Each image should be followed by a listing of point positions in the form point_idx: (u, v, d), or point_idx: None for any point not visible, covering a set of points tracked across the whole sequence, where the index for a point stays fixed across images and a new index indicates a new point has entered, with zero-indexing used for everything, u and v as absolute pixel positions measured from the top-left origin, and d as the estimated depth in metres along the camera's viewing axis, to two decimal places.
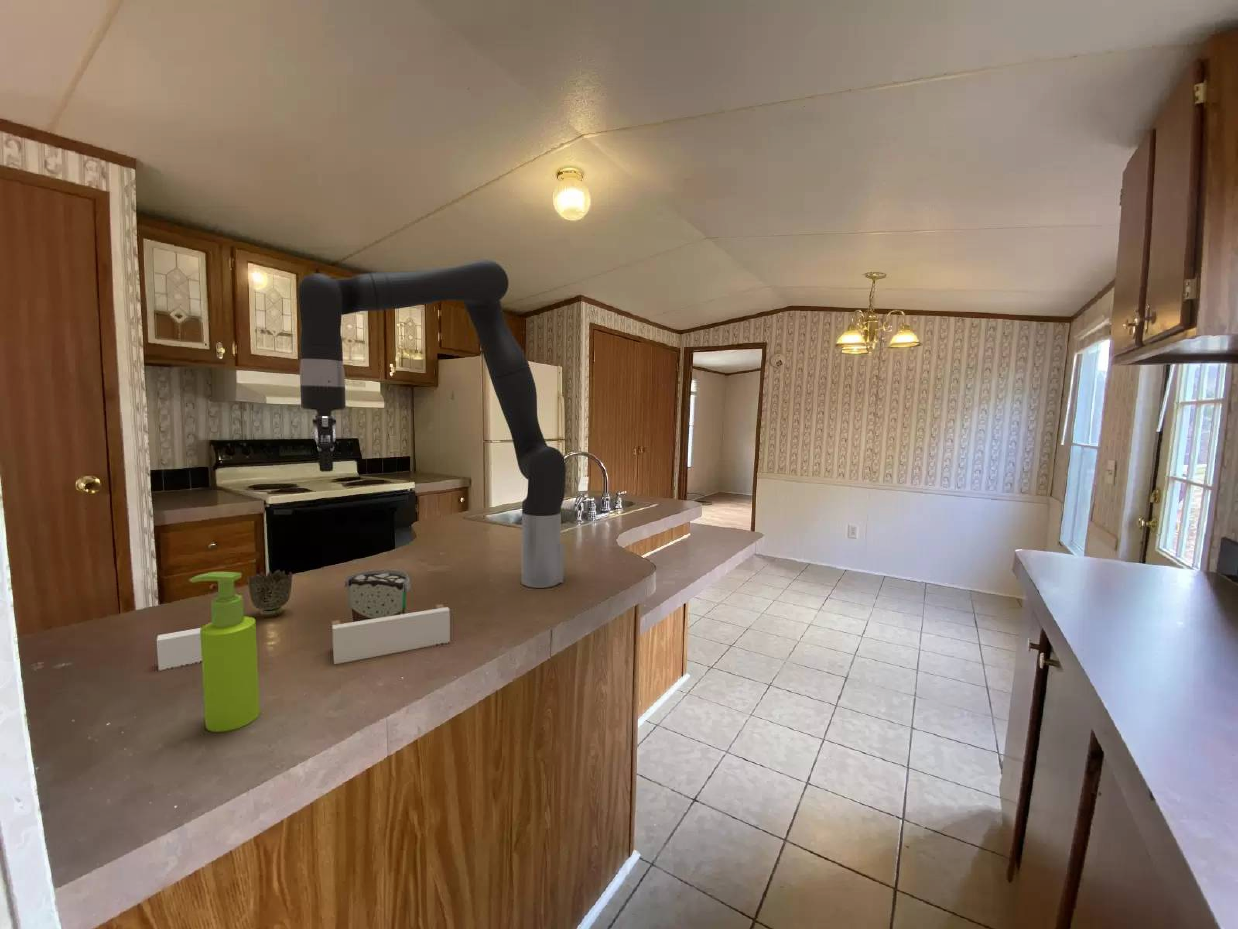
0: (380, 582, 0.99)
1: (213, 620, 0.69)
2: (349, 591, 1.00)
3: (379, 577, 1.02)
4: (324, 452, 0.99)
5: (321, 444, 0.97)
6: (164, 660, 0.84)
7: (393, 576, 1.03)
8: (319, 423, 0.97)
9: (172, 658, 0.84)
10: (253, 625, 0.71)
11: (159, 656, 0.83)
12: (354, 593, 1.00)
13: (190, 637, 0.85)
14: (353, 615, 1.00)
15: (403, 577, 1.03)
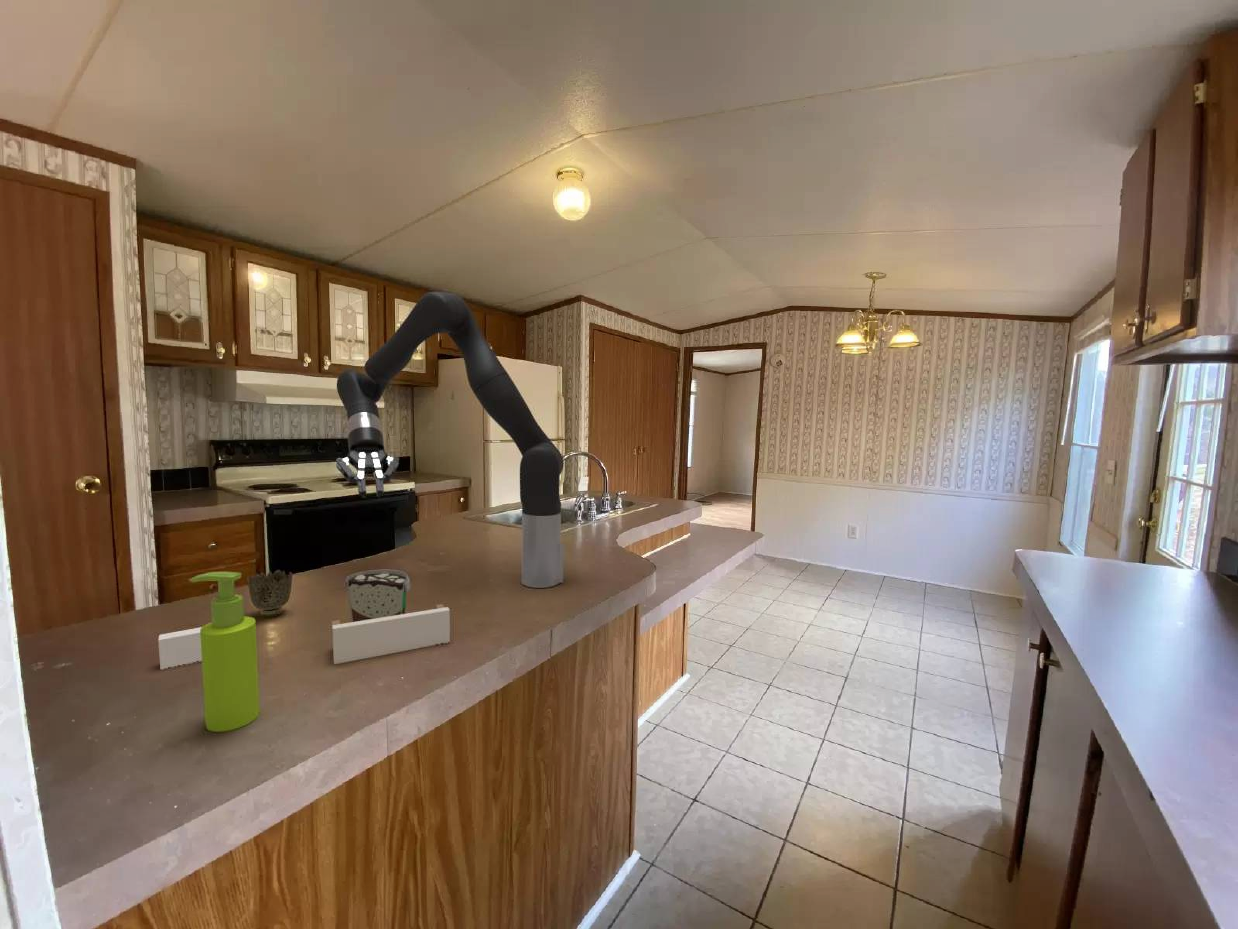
0: (380, 582, 0.99)
1: (213, 620, 0.69)
2: (349, 591, 1.00)
3: (379, 577, 1.02)
4: (357, 483, 1.19)
5: None
6: (166, 659, 0.84)
7: (393, 576, 1.03)
8: (338, 469, 1.20)
9: (174, 657, 0.85)
10: (253, 625, 0.71)
11: (161, 655, 0.84)
12: (354, 593, 1.00)
13: (192, 636, 0.86)
14: (353, 615, 1.00)
15: (403, 577, 1.03)
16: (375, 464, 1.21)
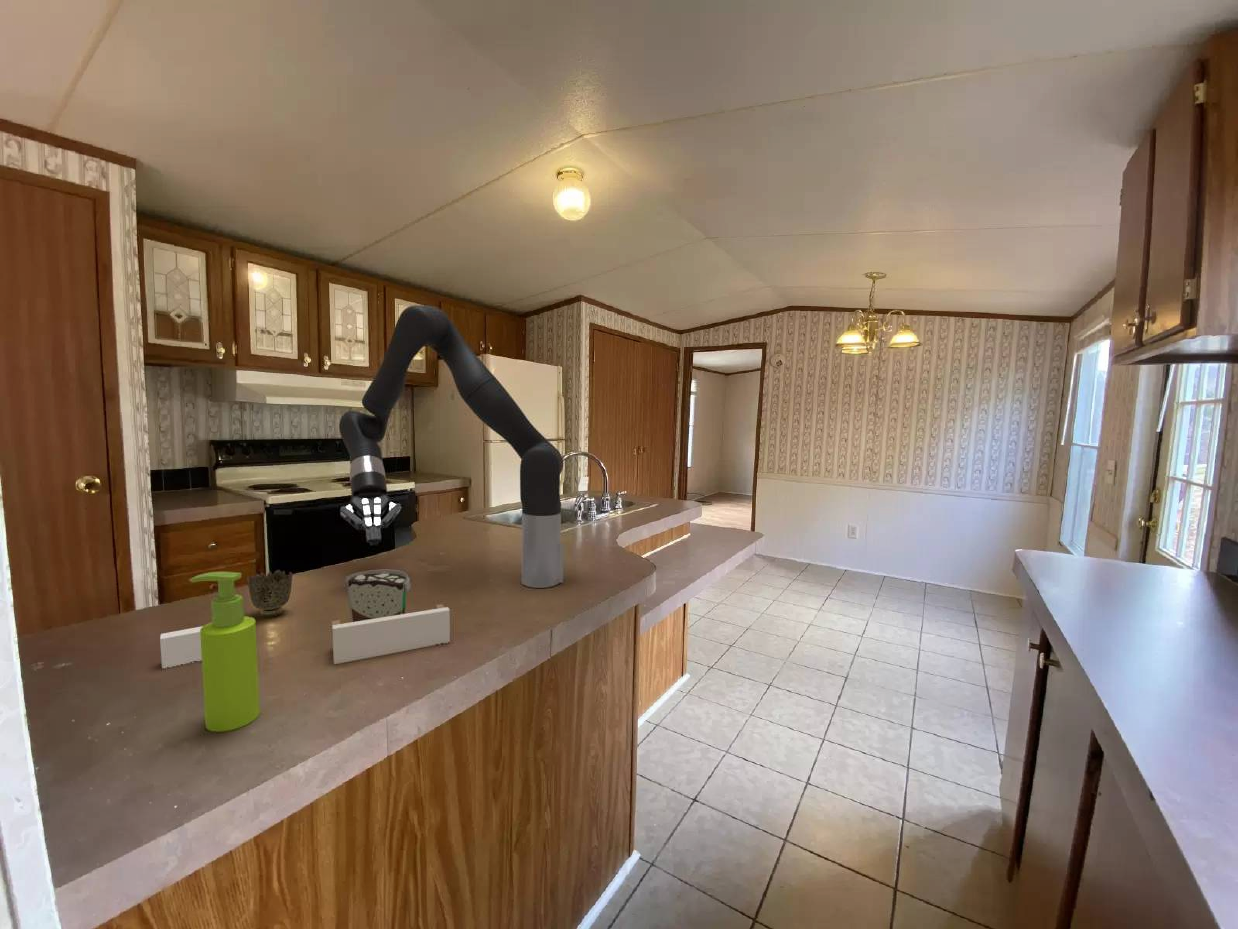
0: (380, 582, 0.99)
1: (213, 620, 0.69)
2: (349, 591, 1.00)
3: (379, 577, 1.02)
4: (365, 530, 1.18)
5: (356, 526, 1.18)
6: (167, 658, 0.84)
7: (393, 576, 1.03)
8: (343, 517, 1.18)
9: (175, 656, 0.85)
10: (253, 625, 0.71)
11: (162, 654, 0.84)
12: (354, 593, 1.00)
13: (193, 635, 0.86)
14: (353, 615, 1.00)
15: (403, 577, 1.03)
16: (375, 510, 1.19)
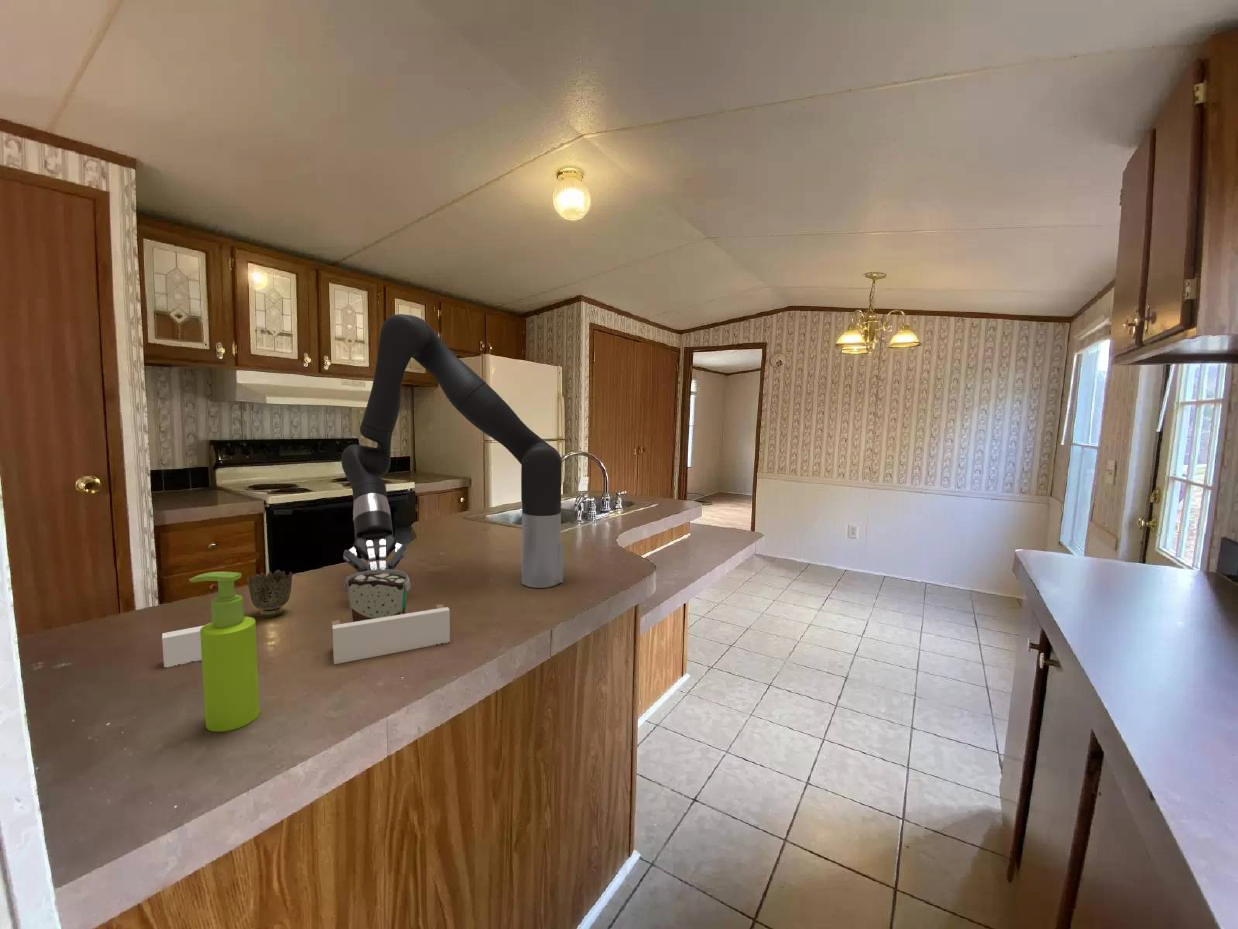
0: (380, 582, 0.99)
1: (213, 620, 0.69)
2: (349, 591, 1.00)
3: (379, 577, 1.02)
4: None
5: (360, 570, 1.11)
6: (169, 657, 0.85)
7: (393, 576, 1.03)
8: (347, 561, 1.11)
9: (177, 655, 0.85)
10: (253, 625, 0.71)
11: (164, 654, 0.84)
12: (354, 593, 1.00)
13: (195, 634, 0.86)
14: (353, 615, 1.00)
15: (403, 577, 1.03)
16: (380, 553, 1.13)
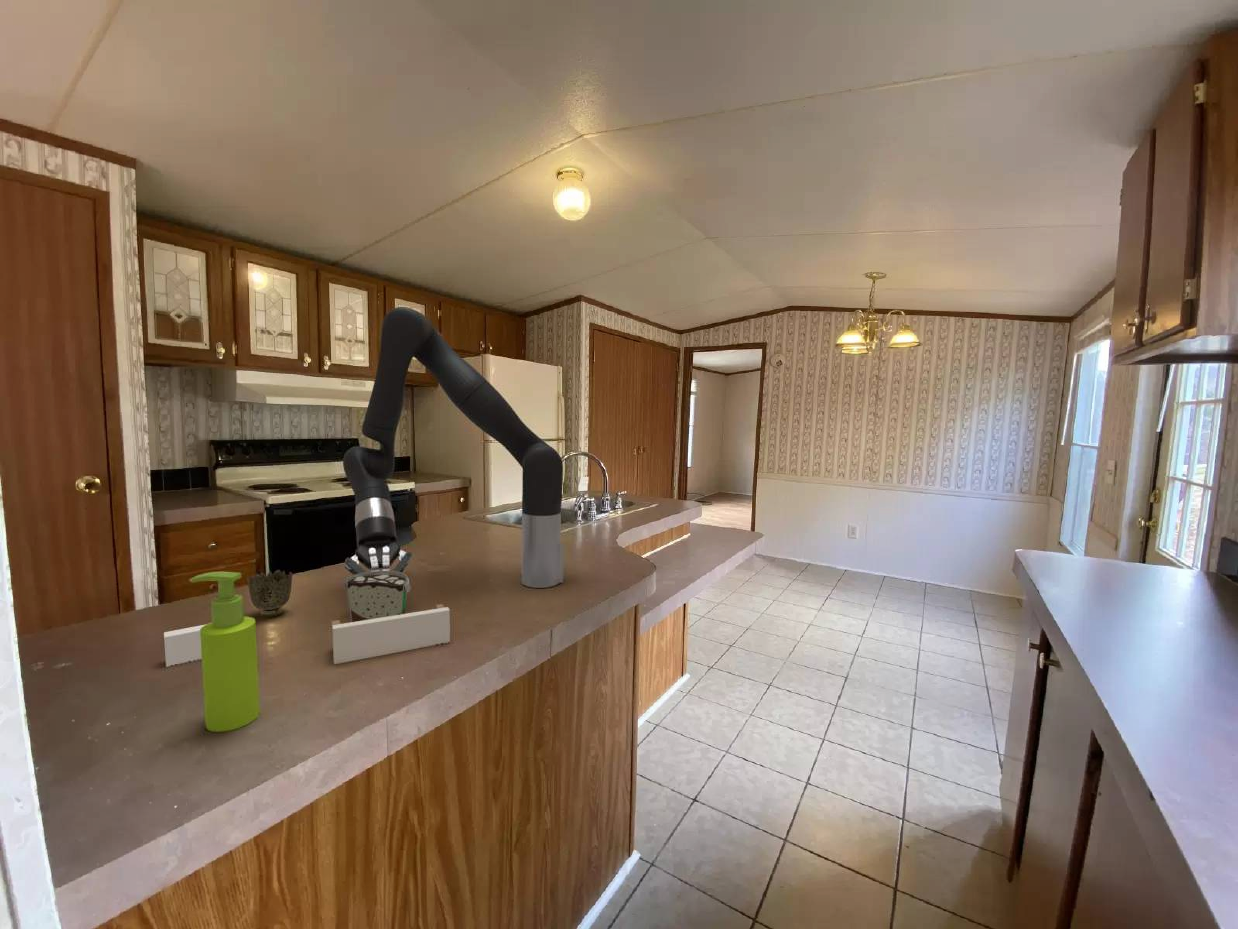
0: (380, 583, 0.98)
1: (213, 620, 0.69)
2: (348, 593, 0.99)
3: (379, 578, 1.02)
4: None
5: None
6: (171, 656, 0.85)
7: (393, 578, 1.02)
8: (348, 570, 1.06)
9: (179, 654, 0.86)
10: (253, 625, 0.71)
11: (166, 652, 0.85)
12: (353, 595, 0.99)
13: (197, 633, 0.87)
14: (352, 617, 1.00)
15: (403, 578, 1.02)
16: (384, 561, 1.07)
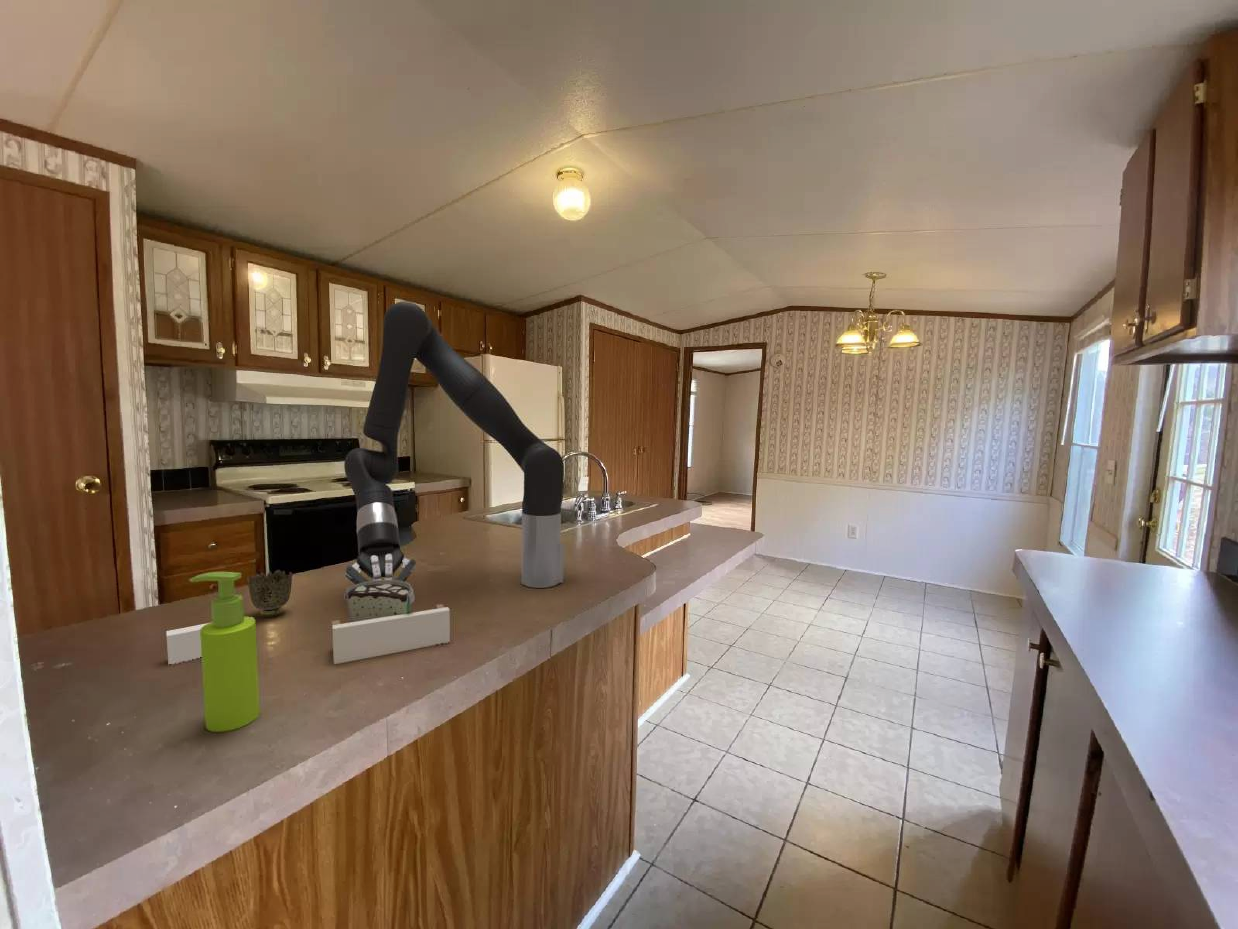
0: (382, 594, 0.93)
1: (213, 620, 0.69)
2: (349, 604, 0.94)
3: (381, 588, 0.96)
4: None
5: None
6: (174, 655, 0.86)
7: (396, 587, 0.97)
8: (349, 578, 1.01)
9: (181, 653, 0.86)
10: (253, 625, 0.71)
11: (169, 651, 0.85)
12: (354, 606, 0.94)
13: (199, 632, 0.87)
14: None
15: (406, 588, 0.97)
16: (386, 570, 1.02)
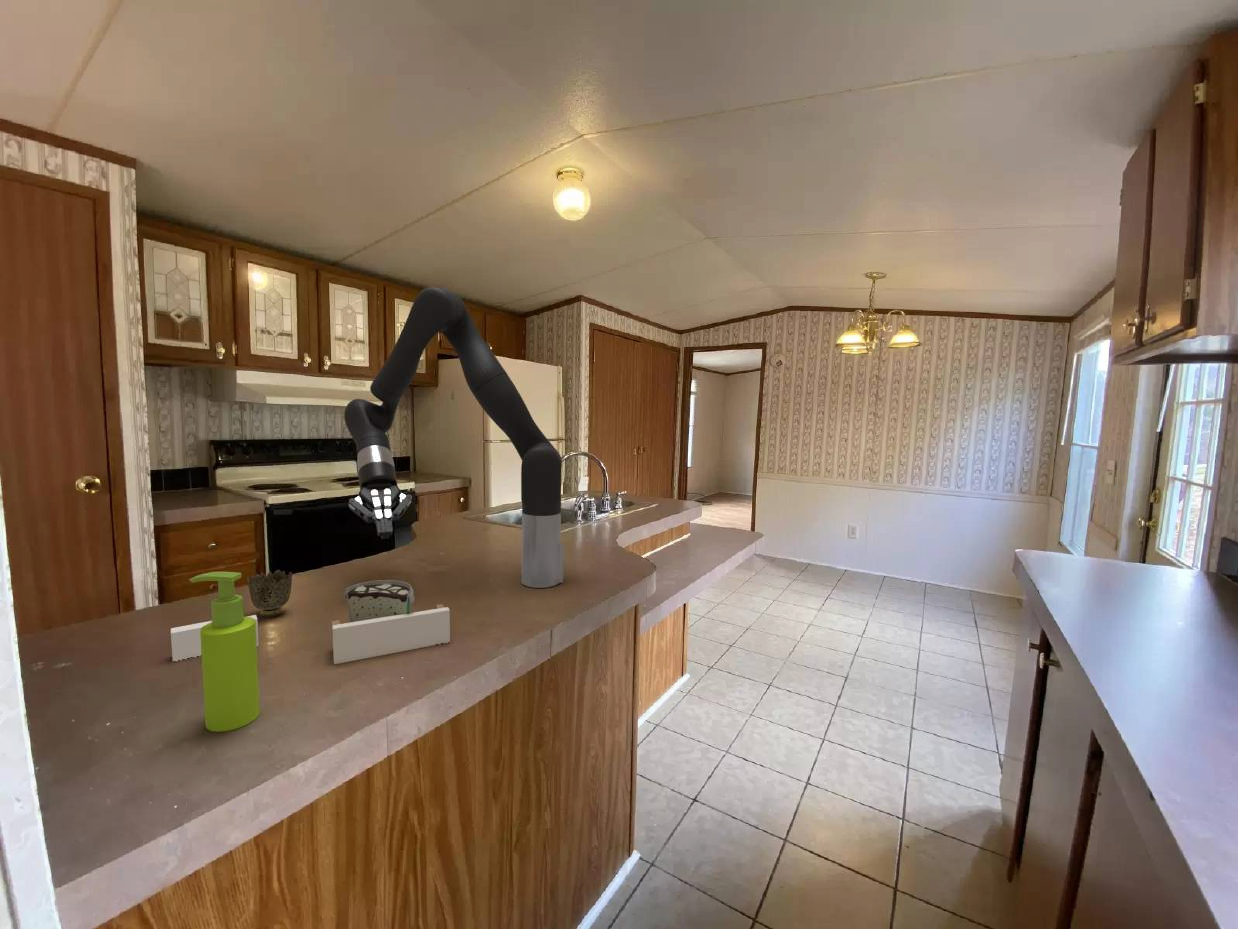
0: (382, 594, 0.93)
1: (213, 620, 0.69)
2: (349, 604, 0.94)
3: (381, 588, 0.96)
4: (375, 523, 1.12)
5: None
6: (178, 652, 0.87)
7: (396, 587, 0.97)
8: (352, 510, 1.12)
9: (185, 650, 0.87)
10: (253, 625, 0.71)
11: (173, 648, 0.86)
12: (354, 606, 0.94)
13: None
14: None
15: (406, 588, 0.97)
16: (385, 502, 1.14)
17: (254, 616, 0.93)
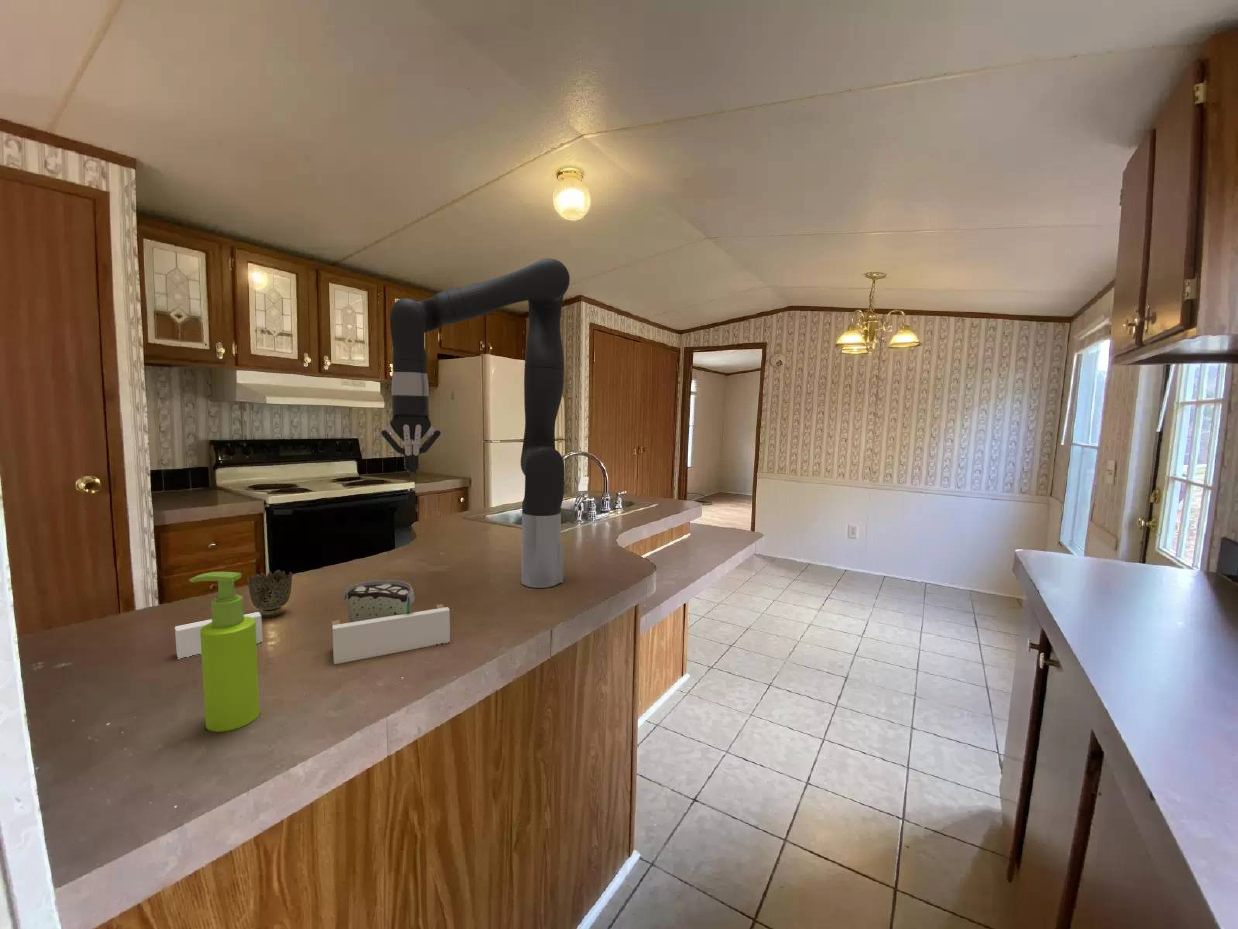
0: (382, 594, 0.93)
1: (213, 620, 0.69)
2: (349, 604, 0.94)
3: (381, 588, 0.96)
4: None
5: (395, 448, 1.18)
6: (183, 649, 0.87)
7: (396, 587, 0.97)
8: None
9: (191, 647, 0.88)
10: (253, 625, 0.71)
11: (178, 646, 0.87)
12: (354, 606, 0.94)
13: None
14: None
15: (406, 588, 0.97)
16: (415, 439, 1.18)
17: (257, 613, 0.95)
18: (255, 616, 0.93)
